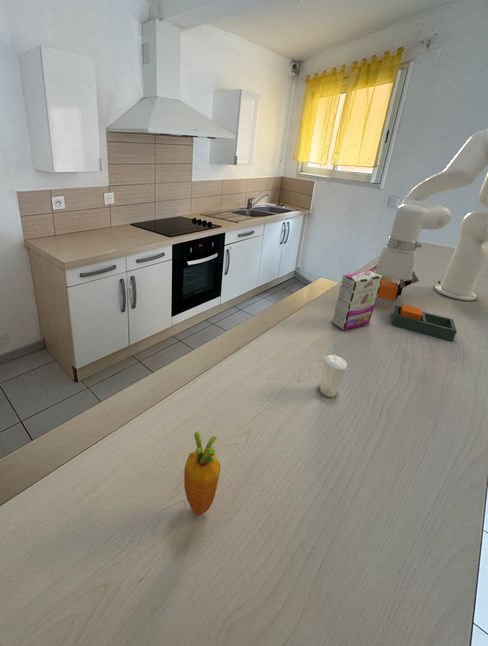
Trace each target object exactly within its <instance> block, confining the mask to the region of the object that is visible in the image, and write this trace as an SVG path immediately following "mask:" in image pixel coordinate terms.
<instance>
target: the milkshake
mask: <svg viewBox="0 0 488 646" xmlns="http://www.w3.org/2000/svg"><path fill="white" fill-rule="evenodd" d="M337 353H338V347H337V346H335V347H334V352H333V354H329V355H327V356H325V357H324V359H323V365H322V374H321V380H320V384H319V385H320V386H319V391H320V393H321V394H322V395H323V396H325V397H327V398H333V397H334V396H336V394H337V392H338V389H339V387H340V385H341V382H342V379H343V377H344V375H345V373H346V371H347V368H348V363H347V361H346V360H345V359H344V358H342V357H340V356H338V355H337Z"/></svg>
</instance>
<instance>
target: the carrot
mask: <svg viewBox="0 0 488 646" xmlns="http://www.w3.org/2000/svg"><path fill="white" fill-rule="evenodd" d="M200 433H201V432H200V431H195V432H194V433H193V436H194V440H195V444H196V449H195V450H194V451H192V452H190V453H189V454H188V457H187V459H186V463H185V465H184V469H183V470H184V472H183V473H184V475H183V478H184V479H183V482H184V483H183V485H184V487H183V488H184V492H185V496H186V500H187V502H188V505H189V507H190V508H191V511H192V512H193V514H194V515H197V516H202V515H203V514H204V513H206V512H207V511H209V510H210V508H211V506H212V504H213V502H214V499H215V496H216V491H217V488H218V483H219V479H220V473H221V462H220V461H219V459H218V457H217V456H216V448H215V447H214V446H213V444H214V443H215V442H216V440H217V438H218V437H217V436H215V435H213V436H212V437H211V438H210V439H209V440H208V442H207V444H206V446H205V449H204V448H203V446H202V438H201V434H200Z"/></svg>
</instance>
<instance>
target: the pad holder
mask: <svg viewBox="0 0 488 646" xmlns="http://www.w3.org/2000/svg"><path fill="white" fill-rule="evenodd" d="M401 307H402V305H401V306H400V305H397V304H395V305H394V309H393V311H392V319H391V320H392V321H391V322H392V326H395V327H398V328H402V329H406V330H410V331H412V332H417V333H420V334H423V335H428V336H431V337H434V338H439V339H441V340H445V341H446V340H447V341H450V342H454V339H455V337H456V334H457V328H456V325H455V322H454V319H453V318H449V317H445V316H441V315H437V314H433V313H429V312H425V311H421V312H422V317H421V319H420V320H416V319H412V318H408V317H404V316H400V315H399V313H400V310H401Z"/></svg>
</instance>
